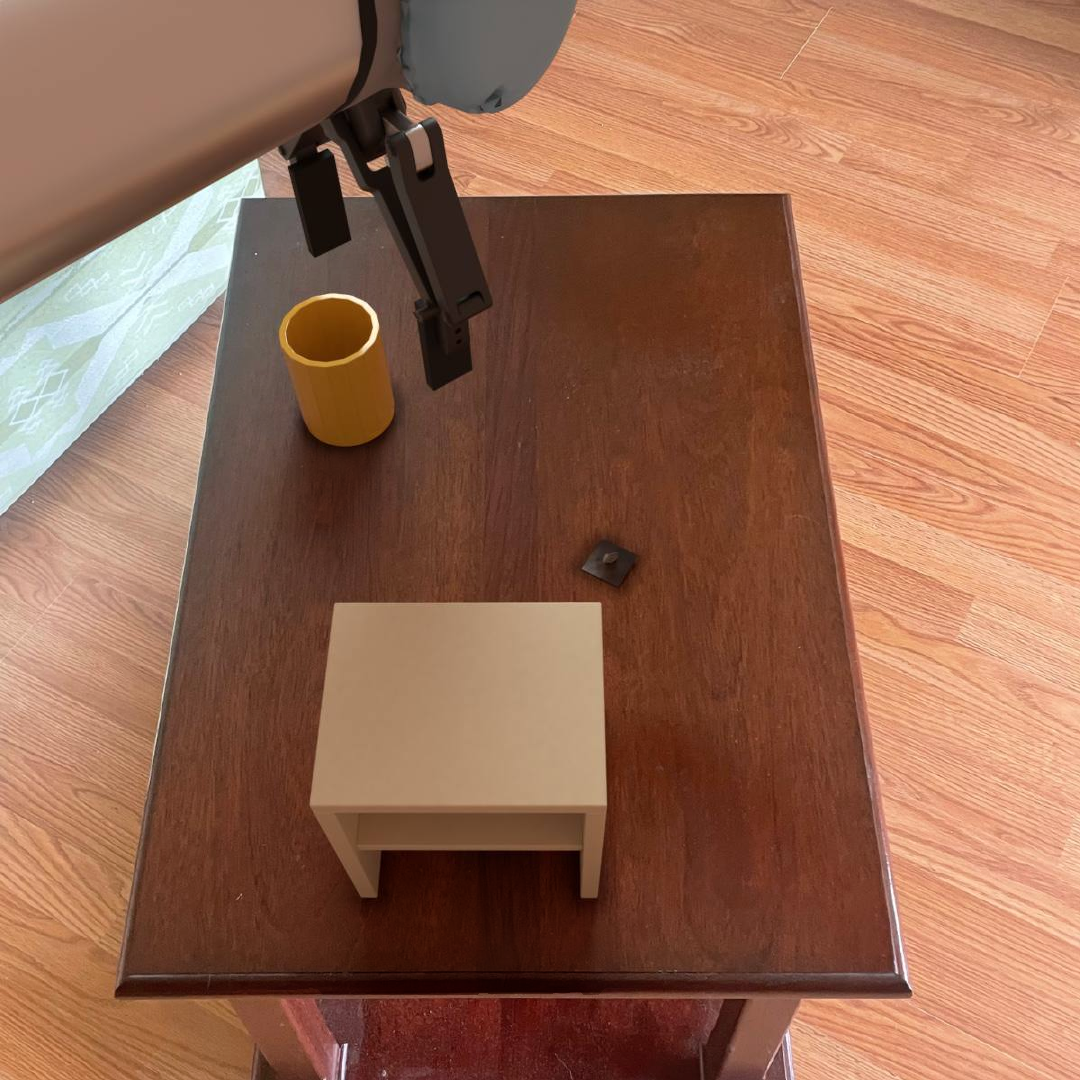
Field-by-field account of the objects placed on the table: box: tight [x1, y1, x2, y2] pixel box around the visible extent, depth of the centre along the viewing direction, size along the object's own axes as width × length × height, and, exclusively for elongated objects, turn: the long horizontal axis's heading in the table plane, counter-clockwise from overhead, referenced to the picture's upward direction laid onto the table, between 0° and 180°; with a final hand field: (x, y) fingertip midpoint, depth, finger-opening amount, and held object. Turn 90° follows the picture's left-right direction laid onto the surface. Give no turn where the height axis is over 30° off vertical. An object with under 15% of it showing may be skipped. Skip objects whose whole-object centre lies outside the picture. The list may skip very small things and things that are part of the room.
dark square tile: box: [581, 539, 639, 588], centre depth 77 cm, size 3×3×1 cm
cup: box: [278, 292, 396, 447], centre depth 82 cm, size 7×7×9 cm
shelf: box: [309, 601, 608, 899], centre depth 61 cm, size 14×11×16 cm
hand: (387, 308), depth 67 cm, fingers open, 13 cm apart
